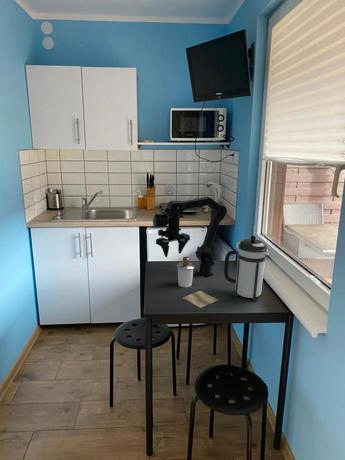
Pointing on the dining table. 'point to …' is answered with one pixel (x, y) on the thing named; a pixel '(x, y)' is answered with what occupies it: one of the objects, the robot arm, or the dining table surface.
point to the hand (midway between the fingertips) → (172, 255)
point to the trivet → (200, 299)
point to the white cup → (185, 277)
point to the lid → (185, 264)
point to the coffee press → (248, 267)
